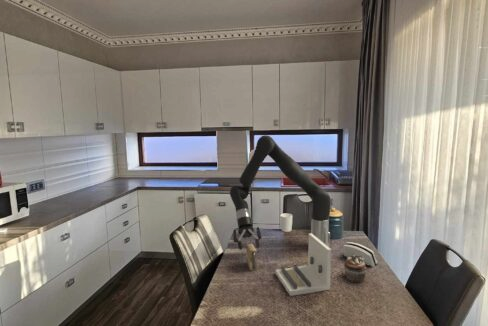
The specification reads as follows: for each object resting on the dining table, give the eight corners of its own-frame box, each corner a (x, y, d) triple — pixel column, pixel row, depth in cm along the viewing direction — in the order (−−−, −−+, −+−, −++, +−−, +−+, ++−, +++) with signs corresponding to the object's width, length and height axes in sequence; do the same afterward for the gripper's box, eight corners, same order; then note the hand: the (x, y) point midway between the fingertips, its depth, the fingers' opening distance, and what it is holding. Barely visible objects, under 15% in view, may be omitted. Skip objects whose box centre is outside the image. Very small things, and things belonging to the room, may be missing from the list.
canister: (345, 233, 184) (346, 206, 182) (341, 241, 173) (342, 212, 170) (324, 230, 190) (324, 203, 188) (319, 237, 179) (319, 209, 176)
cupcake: (340, 278, 133) (341, 257, 132) (347, 269, 141) (348, 249, 139) (362, 285, 127) (363, 263, 126) (368, 275, 135) (370, 255, 133)
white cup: (293, 228, 194) (293, 213, 192) (291, 232, 187) (291, 217, 185) (281, 227, 197) (281, 212, 195) (279, 231, 189) (279, 216, 188)
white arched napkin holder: (378, 263, 145) (376, 247, 142) (374, 269, 143) (371, 253, 139) (348, 252, 158) (345, 237, 155) (343, 257, 156) (340, 242, 152)
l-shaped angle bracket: (310, 268, 142) (311, 233, 139) (330, 289, 125) (331, 249, 122) (275, 273, 138) (275, 237, 135) (290, 296, 120) (290, 254, 118)
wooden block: (252, 262, 150) (252, 243, 148) (257, 270, 141) (257, 251, 139) (246, 262, 149) (246, 244, 147) (251, 271, 140) (250, 251, 139)
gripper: (231, 217, 152) (236, 247, 143) (258, 214, 155) (264, 244, 146) (230, 223, 158) (234, 252, 149) (255, 220, 161) (261, 249, 152)
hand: (249, 248), depth 148 cm, fingers open, 8 cm apart
